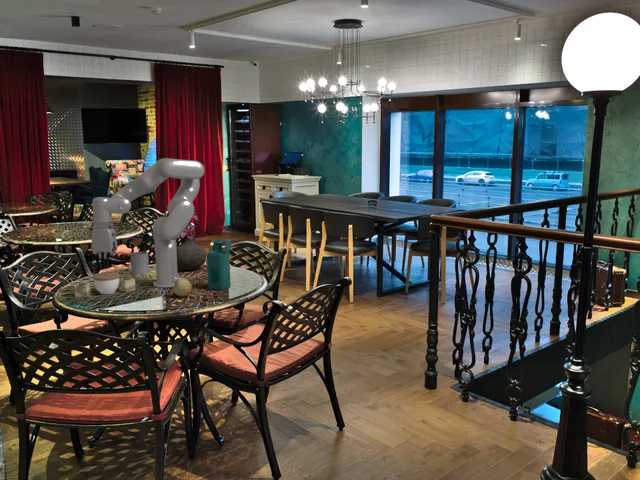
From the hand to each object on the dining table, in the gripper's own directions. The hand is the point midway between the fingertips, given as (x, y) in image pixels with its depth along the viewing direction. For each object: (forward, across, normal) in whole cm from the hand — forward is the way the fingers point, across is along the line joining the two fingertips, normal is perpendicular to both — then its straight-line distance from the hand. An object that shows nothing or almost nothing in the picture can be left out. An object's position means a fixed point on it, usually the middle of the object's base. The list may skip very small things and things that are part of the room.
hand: (105, 267), depth 255 cm
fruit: (+11, -36, -2) cm, 38 cm away
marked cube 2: (+11, -6, -6) cm, 15 cm away
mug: (+11, +10, -42) cm, 45 cm away
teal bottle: (+11, -45, -20) cm, 51 cm away
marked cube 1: (+12, +7, +7) cm, 15 cm away
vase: (+11, -12, -53) cm, 56 cm away
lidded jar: (+12, 0, 0) cm, 12 cm away
